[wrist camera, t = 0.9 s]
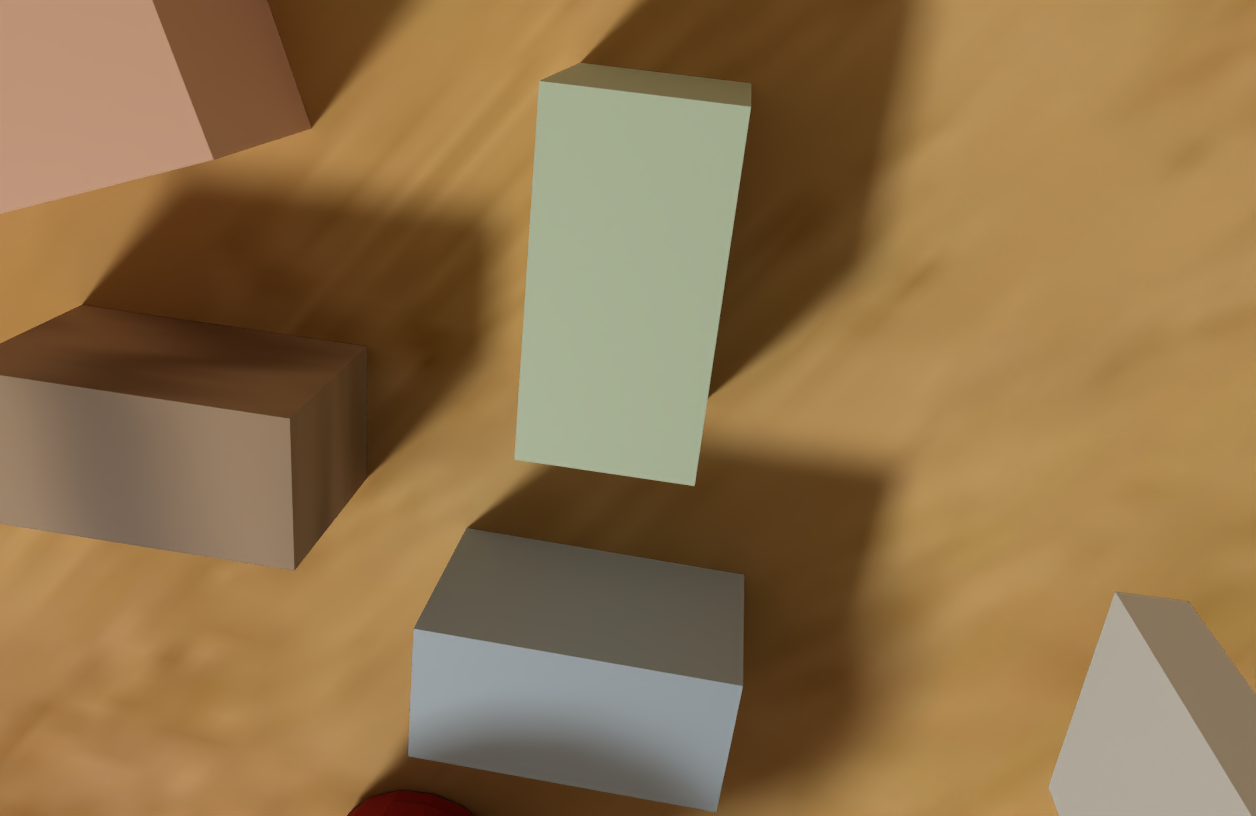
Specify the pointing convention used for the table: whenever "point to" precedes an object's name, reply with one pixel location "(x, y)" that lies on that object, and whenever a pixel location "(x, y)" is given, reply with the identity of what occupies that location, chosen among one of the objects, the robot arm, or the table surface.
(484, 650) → the slate block
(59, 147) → the terracotta block
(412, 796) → the plastic cup
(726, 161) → the sage block
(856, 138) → the table surface
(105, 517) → the walnut block
